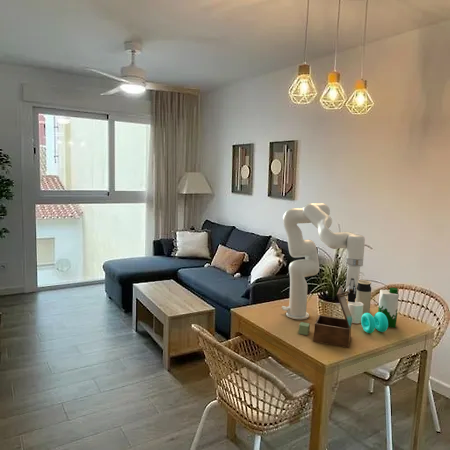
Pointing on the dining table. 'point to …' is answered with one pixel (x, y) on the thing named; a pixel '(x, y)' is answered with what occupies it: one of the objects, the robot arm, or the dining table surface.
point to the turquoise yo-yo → (374, 322)
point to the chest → (332, 331)
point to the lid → (344, 306)
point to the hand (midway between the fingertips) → (351, 299)
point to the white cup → (356, 311)
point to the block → (304, 328)
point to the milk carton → (389, 305)
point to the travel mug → (364, 294)
